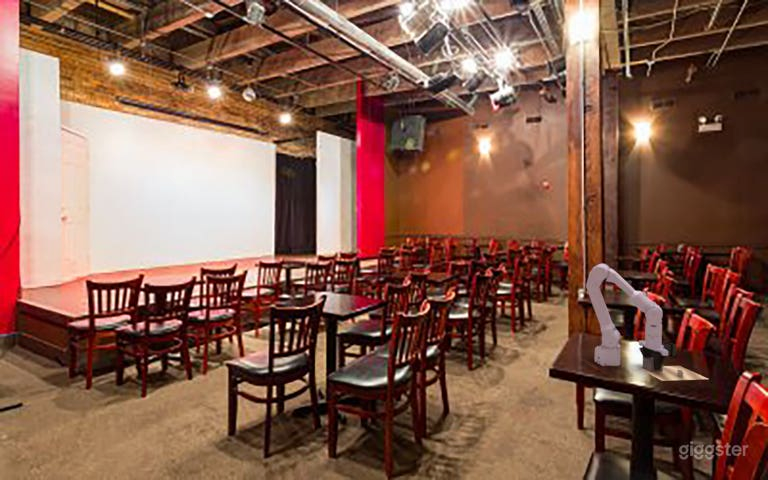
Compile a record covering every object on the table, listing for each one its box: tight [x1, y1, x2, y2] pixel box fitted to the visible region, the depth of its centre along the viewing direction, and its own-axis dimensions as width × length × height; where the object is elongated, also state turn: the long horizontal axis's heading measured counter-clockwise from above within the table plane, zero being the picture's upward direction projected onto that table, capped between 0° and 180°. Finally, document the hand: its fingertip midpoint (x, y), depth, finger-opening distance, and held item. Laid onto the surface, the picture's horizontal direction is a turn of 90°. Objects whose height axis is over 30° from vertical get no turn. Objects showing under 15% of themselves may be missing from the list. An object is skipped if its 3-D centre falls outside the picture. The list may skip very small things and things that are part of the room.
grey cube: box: [642, 356, 664, 372], centre depth 177 cm, size 5×5×5 cm
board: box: [636, 365, 709, 382], centre depth 173 cm, size 19×15×2 cm
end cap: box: [653, 340, 678, 358], centre depth 200 cm, size 10×7×7 cm
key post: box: [677, 369, 683, 378], centre depth 170 cm, size 3×1×2 cm, turn 154°
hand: (652, 367), depth 177 cm, fingers closed on grey cube, 5 cm apart
